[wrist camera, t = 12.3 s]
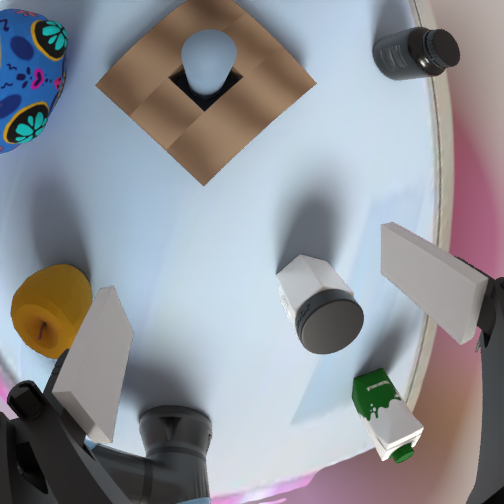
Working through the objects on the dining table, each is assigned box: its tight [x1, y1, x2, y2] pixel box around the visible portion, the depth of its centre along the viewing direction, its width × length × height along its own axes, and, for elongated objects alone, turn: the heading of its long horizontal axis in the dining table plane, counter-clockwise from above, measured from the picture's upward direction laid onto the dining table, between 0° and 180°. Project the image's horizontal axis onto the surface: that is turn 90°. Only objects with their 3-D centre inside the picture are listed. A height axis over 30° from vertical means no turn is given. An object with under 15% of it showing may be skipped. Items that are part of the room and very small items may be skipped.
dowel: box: [181, 29, 237, 98], centre depth 25 cm, size 4×4×15 cm
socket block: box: [95, 0, 317, 186], centre depth 29 cm, size 17×17×5 cm
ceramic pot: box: [0, 9, 68, 154], centre depth 20 cm, size 18×18×15 cm
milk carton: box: [352, 368, 424, 463], centre depth 49 cm, size 9×9×20 cm
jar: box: [276, 254, 364, 354], centre depth 39 cm, size 9×8×12 cm
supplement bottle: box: [374, 27, 460, 80], centre depth 28 cm, size 7×7×12 cm
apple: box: [10, 264, 92, 359], centre depth 33 cm, size 11×11×13 cm
